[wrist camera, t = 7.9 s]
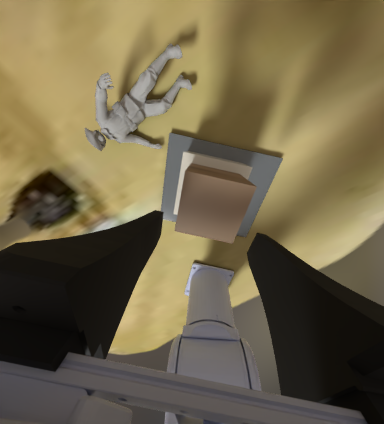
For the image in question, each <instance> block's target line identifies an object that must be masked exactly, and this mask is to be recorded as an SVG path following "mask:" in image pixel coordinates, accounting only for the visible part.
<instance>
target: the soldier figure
mask: <svg viewBox="0 0 384 424" xmlns="http://www.w3.org/2000/svg"><path fill="white" fill-rule="evenodd" d="M173 58H176V59H180V58H182V52H181V48H180V47H179V45H176V46H174V47H173V45H172V44H169V45H168V46H167V48H166V50H165V51H164V52H163V53H162V54H161V55H160V56H159V57H158V58H157V59H156V60H154V61H153V62H152V63H151V65H150V66H149V67H148V69H147V70H145V71H144V72H143V73H142V74H141V75H140V77H139V80H138V81H137V82H136V83H135V85H134V86H133V88H132V89H131V91H130V93H126V94H125V95H124V97H123V98H122V100H121V102H118V101H117V102H116V103H115V104H114V105H113V106H112V108H113V110H110V111H108V110H107V98H108V97H107V91H106V89H112V88H114V86H109V85H110V84H112V81H110V80H111V78H108V77H110V75H108V74H109V73H105V74H102V75H101V76H100V79H99V80H98V81H97V86H96V93H95V97H96V121H97V122H98V124H99V126H100V127H101V133H103V134H104V135H105V136H106V137H107V138H108V139H110V140H112V139H114V140H116V141H117V142H119V143H130V142H132V143H137V144H141V145H145V146H147V147H151V148H155V149H161V148H162V147H160V146H161V145H159V144H156V145H155V144H152V143H151V142H150V141H147V140H145V139H144V138H142V137H140V136H137V135H133V134H129V132H130V131H132V132H133V131H134V130H136V129H137V128H138V127H137V126H138V125H139V124H140V123H141V122H142V121H143V120H144V118H146V117H150V116H157V115H160V114H163V113H165V112H167V110H168V109H169V108H170V107H172V103H173V101H174V98H175V96H176V94H177V93H178V91H179V89H180V88H186V89H188V90H191V89H192V86H191V83H190V81H189V79H187V80H185V79H184V77H183V76H182V75H180V76H179V77H178V78H177V80H176V82H175V83H174V85H173V86H172V87H171V89H170V90H169V91H168V92H167V93H166V95H165V97H164V98H162V100H161V99H152V100H146V98H147V95H148V93H149V92H150V91H151V90H152V88H153V87H154V86H155V84H156V79H157V78H158V75H159V74H160V72H161V71H162V69H163V67H164V65H165V64H166V62H167V60H169V59H173ZM106 78H107V79H106ZM107 81H110V82H107ZM107 111H108V112H107ZM101 133H100V132H99V130H98V131H97V130H95V131H94V132H93V131H90V130H88V129H87V128H85V134H86V137H87V139H88V141H89V142H90V143H91V144H92V145H93V146H94V147H95V148H97V149H99V150H100V151H102V150H103V148H104V147H105V143H106V139H105V137H104V136H103V135H102V134H101ZM158 145H159V146H158Z"/></svg>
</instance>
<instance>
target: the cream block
mask: <svg viewBox="0 0 384 424" xmlns="http://www.w3.org/2000/svg"><path fill="white" fill-rule="evenodd" d="M191 163H194V164H198V165H203V166H207V167H212V168H216V169H220V170H225V171H229V172H234V173H238V174H241V175H242V176H243V177H245V178H246V179H247V180H248V178H249V176H250V173H251V170H252V168H253V167H250V166H248V165H246V164H243V163H239V162H235V161H231V160H226V159H222V158H217V157H213V156H208V155H204V154H200V153H195V152H191V151H184V152H183V157H182V163H181V169H180V176H179V182H178V188H177V194H176V201H175V207H174V213H173V214H176V215H177V214H178V208H179V203H180V197H181V191H182V185H183V180H184V174H185V170H186V169H187V168H188V166H189V165H190V164H191Z"/></svg>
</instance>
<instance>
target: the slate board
mask: <svg viewBox="0 0 384 424" xmlns="http://www.w3.org/2000/svg"><path fill="white" fill-rule="evenodd" d="M184 151H191V152H195V153H200V154H204V155H208V156H213V157H217V158H222V159H226V160H231V161H235V162H239V163H243V164H246V165H248V166H250V167H253V168H252V170H251V173H250V176H249V178H248V180H249V181H250V182H251V183H253V184H254V185H255V186H257V188H256V190H255V192H254V195H253V197H252V199H251V202H250V204H249V206H248V209H247V211H246V214H245V216H244V218H243V221H242V223H241V225H240V228H239V230H238V232H237V236H242V237H246V236H247V234H248V232H249V230H250V227H251V225H252V223H253V221H254V219H255V217H256V215H257V213H258V210H259V208H260V206H261V204H262V202H263V200H264V198H265V196H266V193H267V191H268V189H269V187H270V185H271V183H272V181H273V179H274V176H275V174H276V172H277V170H278V168H279V166H280V164H281V162H282V159H283V158H279V157H274V156H270V155H265V154H261V153H257V152H252V151H248V150H243V149H239V148H235V147H230V146H226V145H222V144H217V143H213V142H208V141H204V140H200V139H195V138H191V137H186V136H182V135H178V134H173V133H170V134H169V143H168V152H167V160H166V169H165V178H164V187H163V196H162V205H161V212H164V214H163V219H164V220H169V221H173V222H176V220H177V215H176V214H173V213H174V207H175V201H176V194H177V188H178V182H179V176H180V169H181V163H182V157H183V152H184Z"/></svg>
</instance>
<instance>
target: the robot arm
mask: <svg viewBox="0 0 384 424" xmlns="http://www.w3.org/2000/svg"><path fill="white" fill-rule="evenodd" d="M163 214H164V212H161V211H157V210H155V211H153V212H151V213H148V214H146V215H144V216H142V217H140V218H138V219H135V220H133V221H130V222H128V223H125V224H122V225H119V226H116V227H113V228H110V229H106V230H102V231H98V232H93V233H89V234H84V235H78V236H73V237H66V238H59V239H52V240H42V241H32V242H22V243H15V244H13V245H11V246H9V247H7V248H5V249H3V250H1V251H0V424H132V423H131V418H132V411H131V409H128V408H125V407H123V406H120V405H117V404H114V403H112V402H109V401H114V402H119V403H124V404H129V405H134V406H139V407H145V408H149V409H154V410H159V411H165V424H384V306H381V305H379V304H377V303H375V302H373V301H371V300H369V299H367V298H365V297H364V296H362V295H360V294H358V293H356V292H354V291H352V290H350V289H349V288H346V287H345V286H343V285H341V284H339V283H337V282H336V281H334V280H332V279H330V278H329V277H327V276H326V275H324V274H323V273H321V272H319V271H318V270H316V269H314V268H313V267H311V266H310V265H308V264H307V263H305V262H304V261H303V260H301V259H300V258H298V257H297V256H295V255H294V254H293V253H291V252H290V251H288V250H287V249H286V248H284V247H283V246H282V245H280V244H279V243H277V242H276V241H275V240H273V239H272V238H270V237H269V236H267V235H265V234H260V233H257V234H256V236H255V238H254V240H253V242H252V244H251V246H250V248H249V250H248V252H247V256H248V261H249V266H250V269H251V271H252V274H253V277H254V280H255V282H256V285H257V288H258V290H259V293H260V296H261V299H262V302H263V306H264V309H265V313H266V317H267V321H268V325H269V330H270V334H271V338H272V344H273V349H274V354H275V359H276V365H277V371H278V377H279V383H280V390H281V395H277V394H272V393H267V392H262V391H261V385H260V379H259V374H258V369H257V365H256V362H255V358H254V355H253V352H252V349H251V347H250V346H249V344H248V343H247V342H246V340H245V339H244V338H240V337H239V332H238V329H237V328H235V324H234V319H233V313H232V307H231V301H230V295H229V290H228V285H229V283H230V281H231V279H232V277H233V275H234V271H232V270H227V269H222V268H218V267H213V266H208V265H204V264H199V263H193V264H192V268H191V271H190V275H189V278H188V282H187V286H186V289H185V295H188V296H189V300H188V310H187V319H186V325H184V326H183V334H178V335H177V337H176V338H175V339H174V341H173V343H172V346H171V350H170V355H169V361H168V368H167V372H163V371H159V370H154V369H149V368H144V367H139V366H134V365H130V364H124V363H120V362H114V361H110V360H105V359H106V357H107V354H108V351H109V349H110V346H111V344H112V341H113V339H114V336H115V333H116V331H117V328H118V326H119V323H120V321H121V319H122V316H123V314H124V311H125V309H126V306H127V304H128V302H129V299H130V297H131V294H132V292H133V290H134V288H135V285H136V283H137V281H138V278H139V276H140V274H141V272H142V270H143V269H144V267H145V265H146V263H147V261H148V260H149V258H150V256H151V254H152V253H153V251H154V249H155V247H156V245H157V243H158V240H159V238H160V235H161V229H162V222H163ZM107 400H109V401H107Z"/></svg>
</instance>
